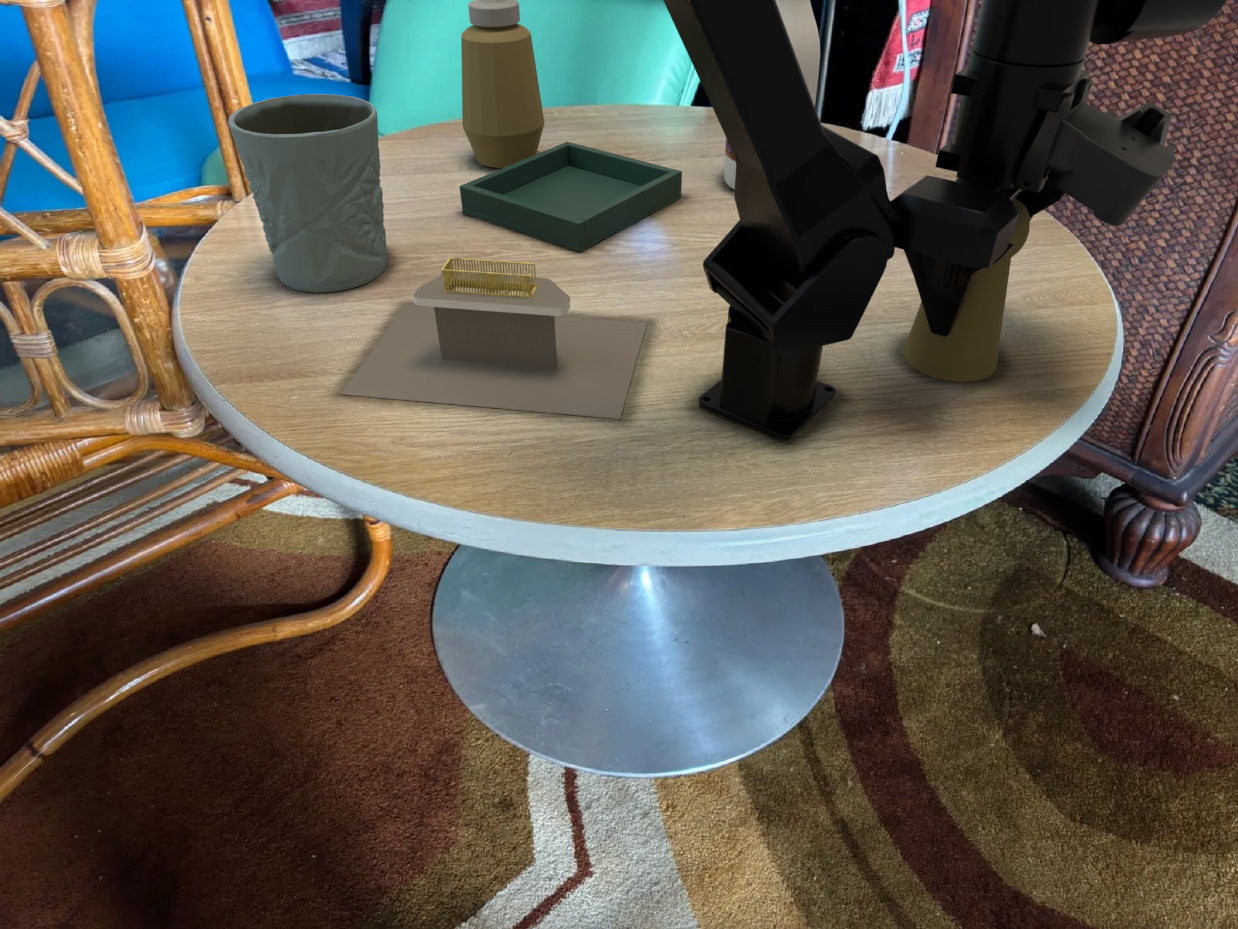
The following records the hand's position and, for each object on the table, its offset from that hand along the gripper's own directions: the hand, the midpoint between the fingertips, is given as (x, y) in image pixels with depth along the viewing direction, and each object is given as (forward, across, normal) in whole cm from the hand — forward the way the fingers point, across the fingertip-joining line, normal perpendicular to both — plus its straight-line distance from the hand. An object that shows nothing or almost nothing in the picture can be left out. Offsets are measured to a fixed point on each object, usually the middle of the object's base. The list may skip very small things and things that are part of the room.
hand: (961, 311), depth 58 cm
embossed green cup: (+4, -16, +44) cm, 47 cm away
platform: (+4, -18, +24) cm, 30 cm away
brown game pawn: (+4, 0, 0) cm, 4 cm away
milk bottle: (+4, +20, +26) cm, 33 cm away
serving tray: (+3, +5, +37) cm, 37 cm away
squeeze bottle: (+4, +10, +50) cm, 51 cm away
